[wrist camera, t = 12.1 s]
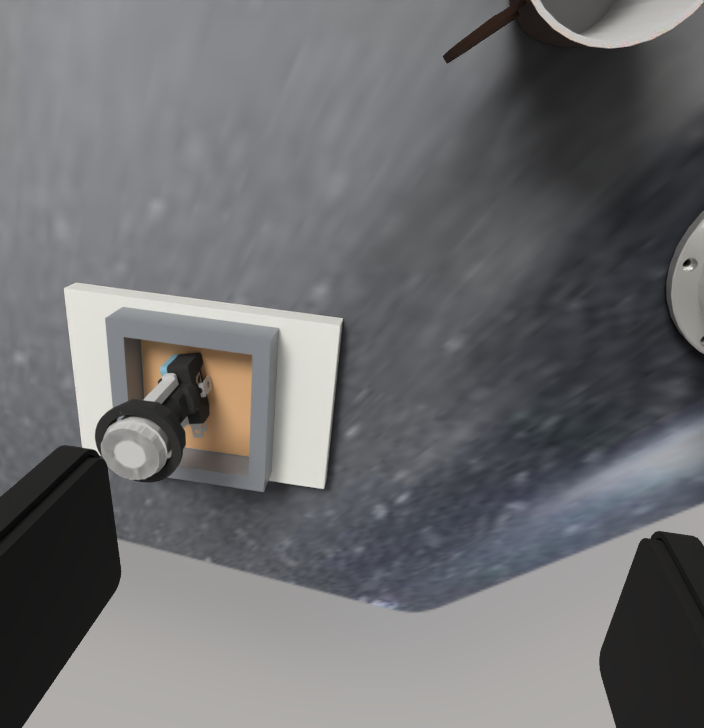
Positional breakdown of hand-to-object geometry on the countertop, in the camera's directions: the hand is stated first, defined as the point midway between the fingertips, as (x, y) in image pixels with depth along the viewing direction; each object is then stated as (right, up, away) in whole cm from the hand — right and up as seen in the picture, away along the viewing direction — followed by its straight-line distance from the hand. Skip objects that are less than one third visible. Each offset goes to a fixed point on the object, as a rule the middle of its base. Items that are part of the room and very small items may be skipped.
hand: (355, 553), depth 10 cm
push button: (-12, +2, +32) cm, 34 cm away
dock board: (-11, +2, +34) cm, 36 cm away
